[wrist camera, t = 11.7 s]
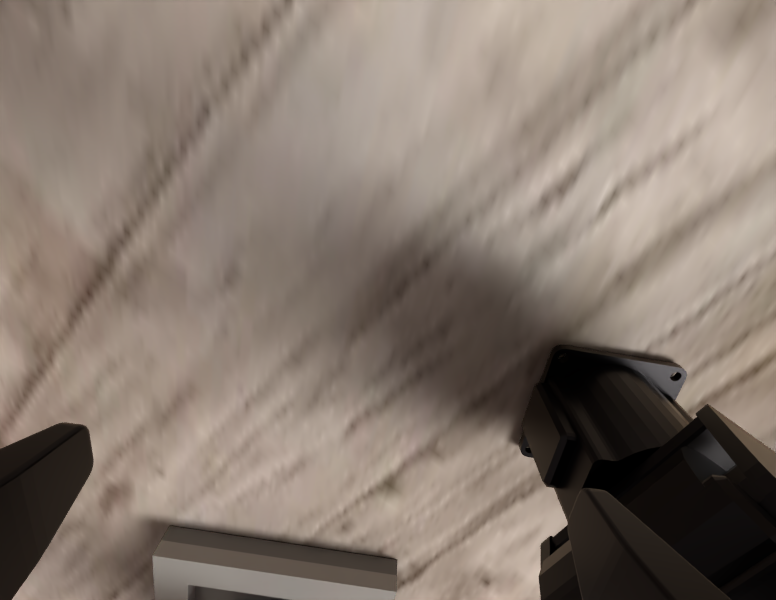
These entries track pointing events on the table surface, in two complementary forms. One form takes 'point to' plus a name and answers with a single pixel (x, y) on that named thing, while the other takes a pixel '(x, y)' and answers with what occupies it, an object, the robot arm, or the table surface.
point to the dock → (264, 570)
